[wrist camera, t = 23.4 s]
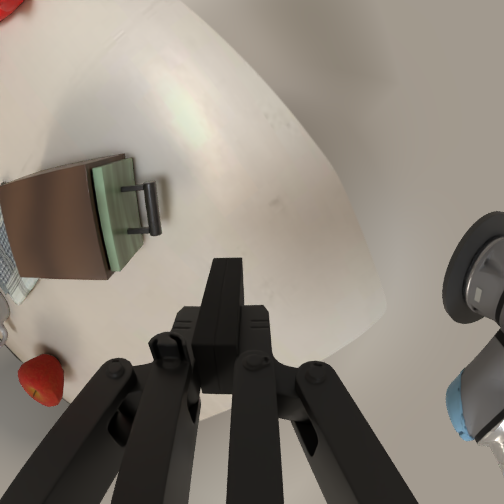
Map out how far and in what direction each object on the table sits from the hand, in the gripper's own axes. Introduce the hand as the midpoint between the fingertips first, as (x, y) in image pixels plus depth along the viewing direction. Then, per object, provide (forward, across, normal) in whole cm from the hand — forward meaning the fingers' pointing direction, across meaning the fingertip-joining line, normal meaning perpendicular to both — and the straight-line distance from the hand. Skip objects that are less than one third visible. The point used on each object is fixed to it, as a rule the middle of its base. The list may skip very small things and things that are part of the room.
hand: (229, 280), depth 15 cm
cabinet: (+20, -22, 0) cm, 30 cm away
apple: (+21, -44, -33) cm, 59 cm away
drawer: (+20, -18, 0) cm, 27 cm away
